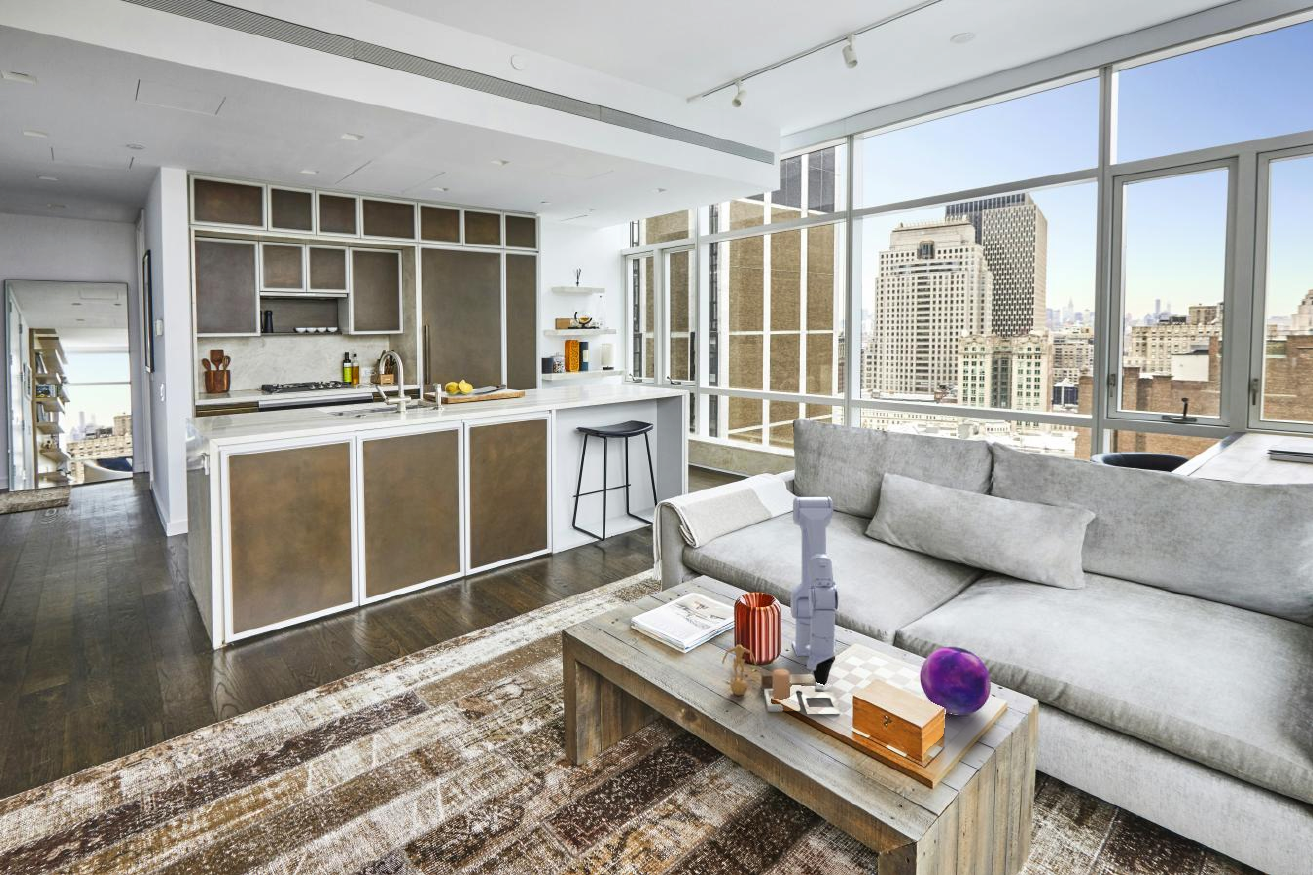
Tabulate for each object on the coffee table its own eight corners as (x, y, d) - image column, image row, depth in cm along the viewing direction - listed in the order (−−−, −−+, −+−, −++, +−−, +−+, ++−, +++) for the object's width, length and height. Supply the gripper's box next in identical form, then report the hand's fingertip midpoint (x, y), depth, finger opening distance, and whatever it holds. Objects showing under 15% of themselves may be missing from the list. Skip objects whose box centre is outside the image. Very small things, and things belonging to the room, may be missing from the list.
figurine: (721, 697, 171) (721, 651, 169) (722, 684, 177) (722, 640, 174) (756, 699, 170) (756, 653, 167) (756, 686, 175) (756, 641, 173)
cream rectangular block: (812, 683, 176) (812, 674, 176) (815, 692, 172) (815, 682, 172) (784, 683, 176) (784, 674, 176) (786, 692, 172) (787, 682, 172)
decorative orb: (959, 736, 154) (963, 673, 151) (905, 704, 167) (907, 645, 164) (1003, 716, 161) (1007, 655, 158) (947, 686, 174) (951, 630, 171)
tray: (795, 694, 172) (795, 688, 171) (800, 711, 164) (800, 705, 164) (764, 694, 172) (764, 688, 172) (768, 711, 164) (768, 705, 164)
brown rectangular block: (771, 685, 176) (771, 670, 175) (772, 690, 173) (772, 675, 173) (761, 685, 176) (761, 670, 175) (762, 690, 173) (762, 675, 173)
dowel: (788, 695, 170) (787, 668, 169) (792, 703, 166) (791, 676, 165) (771, 696, 170) (770, 669, 169) (775, 705, 166) (774, 678, 165)
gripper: (817, 618, 180) (816, 667, 182) (795, 640, 168) (794, 693, 170) (844, 624, 176) (842, 674, 178) (823, 648, 164) (822, 701, 166)
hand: (821, 684), depth 174 cm, fingers closed
